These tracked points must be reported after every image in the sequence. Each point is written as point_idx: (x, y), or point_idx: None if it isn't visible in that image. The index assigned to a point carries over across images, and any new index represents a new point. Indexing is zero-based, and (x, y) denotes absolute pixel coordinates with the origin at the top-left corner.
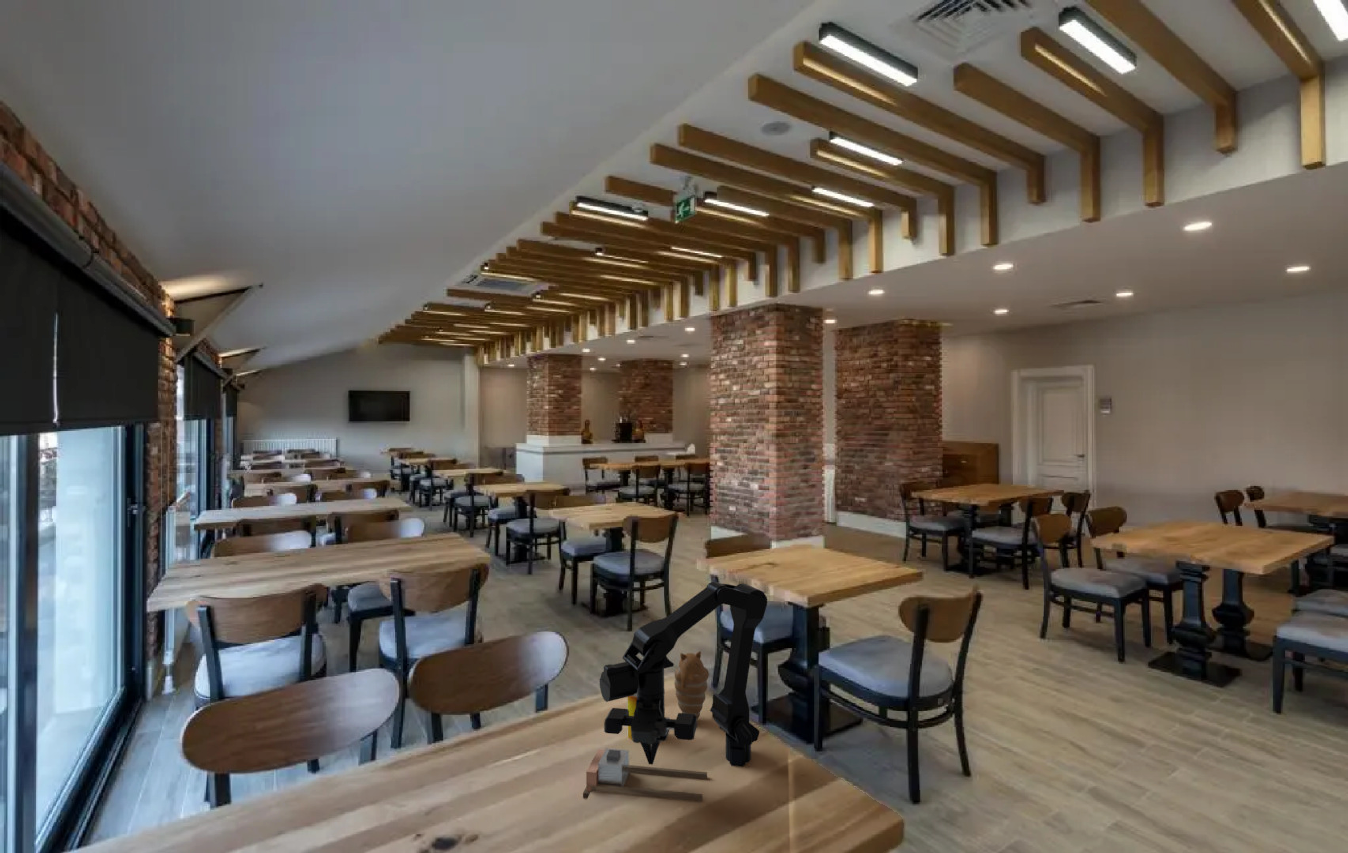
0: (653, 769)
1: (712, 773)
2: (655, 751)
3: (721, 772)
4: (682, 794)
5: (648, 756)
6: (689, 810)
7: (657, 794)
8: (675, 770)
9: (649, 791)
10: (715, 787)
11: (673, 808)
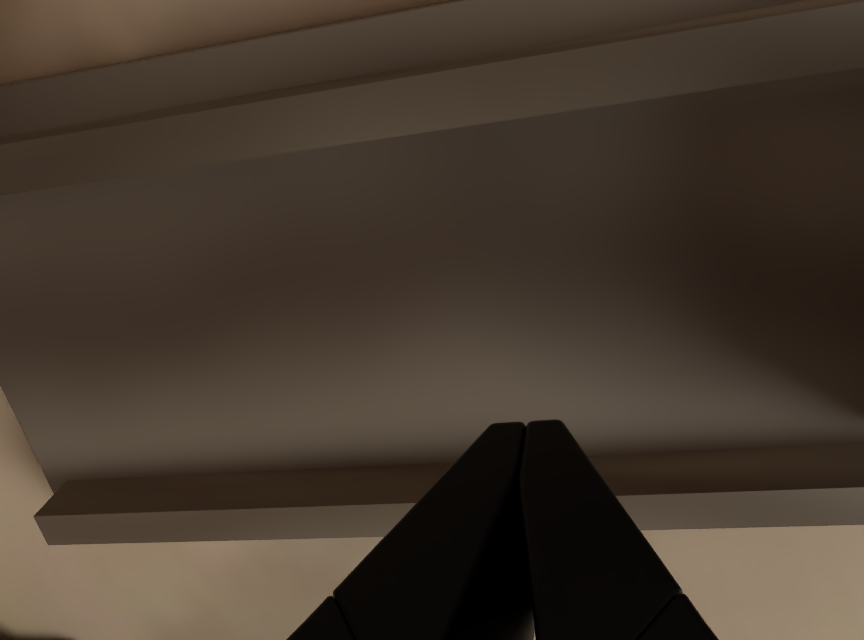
0: None
1: (127, 585)
2: (346, 592)
3: (75, 603)
4: (56, 140)
5: (555, 499)
6: (29, 54)
7: (367, 79)
8: (336, 522)
9: (474, 67)
10: (15, 437)
11: (190, 29)
